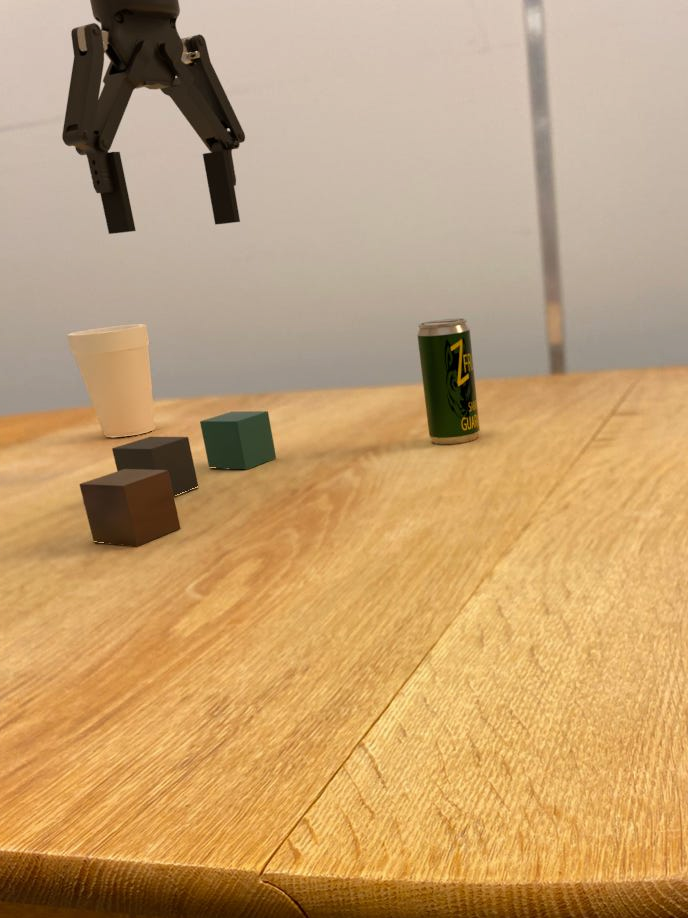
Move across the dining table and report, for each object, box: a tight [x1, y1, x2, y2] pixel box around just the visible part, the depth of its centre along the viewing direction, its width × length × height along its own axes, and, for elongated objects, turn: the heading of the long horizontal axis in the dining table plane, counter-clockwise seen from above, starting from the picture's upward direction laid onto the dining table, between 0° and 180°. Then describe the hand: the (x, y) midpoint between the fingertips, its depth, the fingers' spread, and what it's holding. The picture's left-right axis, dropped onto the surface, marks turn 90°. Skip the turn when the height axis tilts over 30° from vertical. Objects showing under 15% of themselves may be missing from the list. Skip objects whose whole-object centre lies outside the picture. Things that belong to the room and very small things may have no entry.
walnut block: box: [78, 469, 181, 547], centre depth 87 cm, size 5×5×5 cm
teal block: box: [199, 410, 277, 471], centre depth 111 cm, size 5×5×5 cm
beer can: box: [416, 318, 481, 445], centre depth 110 cm, size 5×5×12 cm
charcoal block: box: [111, 436, 199, 496], centre depth 101 cm, size 5×5×5 cm
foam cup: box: [66, 323, 156, 436], centre depth 135 cm, size 10×9×13 cm
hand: (177, 228), depth 101 cm, fingers open, 13 cm apart
